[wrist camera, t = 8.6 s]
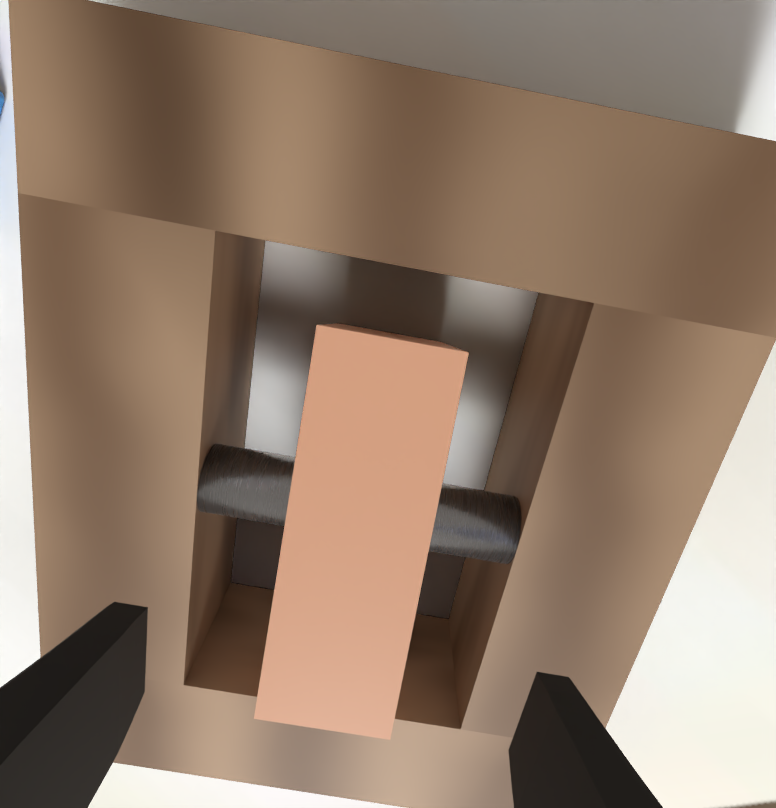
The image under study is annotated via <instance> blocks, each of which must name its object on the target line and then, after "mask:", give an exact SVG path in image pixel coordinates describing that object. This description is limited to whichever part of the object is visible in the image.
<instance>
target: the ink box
mask: <svg viewBox="0 0 776 808" xmlns="http://www.w3.org/2000/svg"><path fill="white" fill-rule="evenodd" d="M3 104H4V95H3V93H2V92H1V91H0V114H1V111H2V107H3Z"/></svg>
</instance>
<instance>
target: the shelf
mask: <svg viewBox="0 0 776 808" xmlns="http://www.w3.org/2000/svg"><path fill="white" fill-rule="evenodd" d="M9 20H10V40H11V61H12V81H13V101H14V122H15V142H16V163H17V183H18V204H19V224H20V244H21V265H22V285H23V306H24V326H25V346H26V367H27V387H28V408H29V428H30V449H31V469H32V489H33V510H34V530H35V551H36V571H37V591H38V612H39V632H40V653H41V657H42V656H44V655H45V654H46V653H48V652H49V651H50V650H52V649H53V648H54V647H55V646H57V645H58V644H59V643H61V642H62V641H63V640H65V639H66V638H67V637H68V636H70V635H71V634H72V633H74V632H75V631H76V630H77V629H79V628H80V627H81V626H83V625H84V624H85V623H86V622H88V621H89V620H90V619H91V618H93V617H94V616H95V615H97V614H98V613H99V612H100V611H102V610H103V609H104V608H106V607H107V606H108V605H110V604H111V603H113V602H119V603H125V604H131V605H137V606H143V607H148V620H147V646H146V673H145V693H144V695H143V697H142V700H141V702H140V704H139V707H138V709H137V711H136V714H135V716H134V718H133V721H132V723H131V725H130V728H129V730H128V732H127V734H126V736H125V739H124V741H123V743H122V745H121V748H120V750H119V752H118V754H117V756H116V758H115V759H114V761H113V762H114V763H120V764H127V765H133V766H140V767H146V768H153V769H159V770H166V771H172V772H179V773H185V774H192V775H198V776H205V777H211V778H218V779H224V780H231V781H237V782H244V783H250V784H257V785H263V786H270V787H276V788H283V789H289V790H296V791H302V792H309V793H315V794H322V795H328V796H335V797H341V798H348V799H354V800H361V801H367V802H374V803H380V804H387V805H393V806H400V807H406V808H514V803H513V794H512V785H511V774H510V762H509V751H508V750H509V747H510V744H511V742H512V739H513V736H514V733H515V731H516V728H517V725H518V722H519V720H520V717H521V714H522V711H523V708H524V706H525V703H526V700H527V697H528V695H529V692H530V689H531V686H532V684H533V681H534V678H535V675H536V673H537V672H542V673H548V674H554V675H560V676H566V677H569V678H570V679H571V680H572V682H573V683H574V685H575V686H576V687H577V689H578V690H579V692H580V693H581V694H582V696H583V697H584V699H585V700H586V702H587V703H588V705H589V706H590V707H591V709H592V710H593V712H594V713H595V715H596V716H597V717H598V719H599V720H600V722H601V723H602V725H603V726H604V727H605V728H606V725H607V723H608V721H609V719H610V716H611V714H612V712H613V709H614V707H615V705H616V703H617V700H618V698H619V696H620V693H621V691H622V689H623V687H624V684H625V682H626V680H627V678H628V675H629V673H630V671H631V668H632V666H633V664H634V662H635V659H636V657H637V655H638V652H639V650H640V648H641V646H642V643H643V641H644V639H645V637H646V634H647V632H648V630H649V627H650V625H651V623H652V621H653V618H654V616H655V614H656V611H657V609H658V607H659V605H660V602H661V600H662V598H663V596H664V593H665V591H666V589H667V586H668V584H669V582H670V580H671V577H672V575H673V573H674V571H675V568H676V566H677V564H678V561H679V559H680V557H681V555H682V552H683V550H684V548H685V545H686V543H687V541H688V539H689V536H690V534H691V532H692V530H693V527H694V525H695V523H696V520H697V518H698V516H699V514H700V511H701V509H702V507H703V504H704V502H705V500H706V498H707V495H708V493H709V491H710V489H711V486H712V484H713V482H714V479H715V477H716V475H717V473H718V470H719V468H720V466H721V463H722V461H723V459H724V457H725V454H726V452H727V450H728V448H729V445H730V443H731V441H732V438H733V436H734V434H735V432H736V429H737V427H738V425H739V422H740V420H741V418H742V416H743V413H744V411H745V409H746V407H747V404H748V402H749V400H750V397H751V395H752V393H753V391H754V388H755V386H756V384H757V382H758V379H759V377H760V375H761V372H762V370H763V368H764V366H765V363H766V361H767V359H768V356H769V354H770V352H771V350H772V347H773V345H774V343H775V341H776V141H772V140H767V139H762V138H757V137H752V136H747V135H742V134H738V133H733V132H728V131H723V130H718V129H713V128H708V127H703V126H698V125H694V124H689V123H684V122H679V121H674V120H669V119H664V118H659V117H655V116H650V115H645V114H640V113H635V112H630V111H625V110H620V109H616V108H611V107H606V106H601V105H596V104H591V103H586V102H581V101H576V100H572V99H567V98H562V97H557V96H552V95H547V94H542V93H537V92H533V91H528V90H523V89H518V88H513V87H508V86H503V85H498V84H494V83H489V82H484V81H479V80H474V79H469V78H464V77H459V76H454V75H450V74H445V73H440V72H435V71H430V70H425V69H420V68H415V67H411V66H406V65H401V64H396V63H391V62H386V61H381V60H376V59H372V58H367V57H362V56H357V55H352V54H347V53H342V52H337V51H332V50H328V49H323V48H318V47H313V46H308V45H303V44H298V43H293V42H289V41H284V40H279V39H274V38H269V37H264V36H259V35H254V34H250V33H245V32H240V31H235V30H230V29H225V28H220V27H215V26H210V25H206V24H201V23H196V22H191V21H186V20H181V19H176V18H171V17H167V16H162V15H157V14H152V13H147V12H142V11H137V10H132V9H127V8H123V7H118V6H113V5H108V4H103V3H98V2H93V1H88V0H9ZM265 240H267V241H272V242H277V243H283V244H288V245H293V246H298V247H304V248H309V249H314V250H319V251H324V252H330V253H335V254H340V255H345V256H351V257H356V258H361V259H366V260H372V261H377V262H382V263H387V264H392V265H398V266H403V267H408V268H413V269H419V270H424V271H429V272H434V273H440V274H445V275H450V276H455V277H461V278H466V279H471V280H476V281H481V282H487V283H492V284H497V285H502V286H508V287H513V288H518V289H523V290H529V291H534V292H539V294H538V298H537V301H536V305H535V308H534V312H533V316H532V319H531V323H530V326H529V330H528V334H527V337H526V341H525V345H524V348H523V352H522V355H521V359H520V363H519V366H518V370H517V373H516V377H515V381H514V384H513V388H512V392H511V395H510V399H509V402H508V406H507V410H506V413H505V417H504V420H503V424H502V428H501V431H500V435H499V439H498V442H497V446H496V449H495V453H494V457H493V460H492V464H491V467H490V471H489V475H488V478H487V482H486V486H485V489H484V491H483V490H477V489H472V488H466V487H460V486H455V485H449V484H443V483H442V488H441V493H440V497H439V502H438V507H437V512H436V517H435V522H434V527H433V532H432V537H431V542H430V547H429V551H433V552H439V553H444V554H450V555H456V556H462V557H466V558H465V561H464V565H463V569H462V572H461V576H460V580H459V583H458V587H457V590H456V594H455V598H454V601H453V605H452V608H451V612H450V616H449V619H444V618H438V617H432V616H426V615H420V614H416V616H415V620H414V625H413V630H412V635H411V640H410V645H409V650H408V655H407V660H406V665H405V670H404V675H403V679H402V684H401V689H400V694H399V699H398V704H397V709H396V714H395V719H394V724H393V729H392V734H391V739H390V740H387V739H381V738H375V737H368V736H362V735H355V734H349V733H342V732H336V731H329V730H323V729H316V728H310V727H303V726H297V725H290V724H284V723H278V722H271V721H265V720H258V719H254V714H255V708H256V702H257V695H258V689H259V683H260V677H261V670H262V664H263V658H264V652H265V645H266V639H267V633H268V626H269V620H270V614H271V608H272V601H273V595H274V590H271V589H265V588H259V587H253V586H247V585H241V584H235V583H231V574H232V564H233V554H234V545H235V535H236V525H237V518H241V519H247V520H252V521H258V522H264V523H270V524H276V525H281V526H285V520H286V514H287V507H288V501H289V495H290V489H291V482H292V476H293V470H294V463H295V457H291V456H285V455H279V454H274V453H268V452H262V451H257V450H251V449H245V448H244V445H245V435H246V425H247V415H248V405H249V395H250V385H251V375H252V365H253V356H254V346H255V336H256V326H257V316H258V306H259V296H260V286H261V276H262V266H263V256H264V246H265Z"/></svg>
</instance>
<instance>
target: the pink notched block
mask: <svg viewBox="0 0 776 808" xmlns="http://www.w3.org/2000/svg"><path fill="white" fill-rule="evenodd" d="M468 355H469V352H466V351H464V350H461V349H458V348H456V347H453V346H450V345H448V344H445V343H443V342H439V341H433V340H428V339H422V338H417V337H411V336H406V335H400V334H395V333H390V332H384V331H379V330H373V329H368V328H362V327H357V326H351V325H346V324H340V323H334V324H321V325H316V332H315V338H314V344H313V351H312V357H311V363H310V369H309V376H308V382H307V388H306V394H305V401H304V407H303V413H302V420H301V426H300V432H299V438H298V445H297V451H296V457H295V463H294V470H293V476H292V482H291V489H290V495H289V501H288V507H287V514H286V520H285V526H284V532H283V539H282V545H281V551H280V558H279V564H278V570H277V576H276V583H275V589H274V595H273V601H272V608H271V614H270V620H269V626H268V633H267V639H266V645H265V652H264V658H263V664H262V670H261V677H260V683H259V689H258V695H257V702H256V708H255V714H254V719H258V720H265V721H271V722H278V723H284V724H290V725H297V726H303V727H310V728H316V729H323V730H329V731H336V732H342V733H349V734H355V735H362V736H368V737H375V738H381V739H387V740H390V739H391V734H392V729H393V724H394V719H395V714H396V709H397V704H398V699H399V694H400V689H401V684H402V679H403V675H404V670H405V665H406V660H407V655H408V650H409V645H410V640H411V635H412V630H413V625H414V620H415V616H416V611H417V606H418V601H419V596H420V591H421V586H422V581H423V576H424V571H425V566H426V561H427V556H428V552H429V547H430V542H431V537H432V532H433V527H434V522H435V517H436V512H437V507H438V502H439V497H440V493H441V488H442V483H443V478H444V473H445V468H446V463H447V458H448V453H449V448H450V443H451V438H452V434H453V429H454V424H455V419H456V414H457V409H458V404H459V399H460V394H461V389H462V384H463V379H464V374H465V370H466V365H467V360H468Z"/></svg>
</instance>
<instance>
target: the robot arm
mask: <svg viewBox="0 0 776 808" xmlns="http://www.w3.org/2000/svg"><path fill="white" fill-rule="evenodd" d="M147 620H148V607H143V606H137V605H131V604H125V603H119V602H113V603H111V604H110V605H108V606H107V607H106V608H104V609H103V610H102V611H100V612H99V613H98V614H97V615H95V616H94V617H93V618H91V619H90V620H89V621H88V622H86V623H85V624H84V625H83V626H81V627H80V628H79V629H77V630H76V631H75V632H74V633H72V634H71V635H70V636H68V637H67V638H66V639H65V640H63V641H62V642H61V643H59V644H58V645H57V646H55V647H54V648H53V649H52V650H50V651H49V652H48V653H46V654H45V655H44V656H42V657H41V658H40V659H38V660H37V661H36V662H34V663H33V664H32V665H30V666H29V667H28V668H26V669H25V670H24V671H22V672H21V673H20V674H18V675H17V676H15V677H14V678H13V679H11V680H10V681H9V682H7V683H6V684H5V685H3V686H2V687H1V688H0V808H88V806H89V804H90V802H91V801H92V799H93V797H94V795H95V793H96V792H97V790H98V788H99V786H100V784H101V783H102V781H103V779H104V777H105V776H106V774H107V772H108V770H109V768H110V767H111V765H112V763H113V761H114V759H115V758H116V756H117V754H118V752H119V750H120V748H121V745H122V743H123V741H124V739H125V736H126V734H127V732H128V730H129V728H130V725H131V723H132V721H133V718H134V716H135V714H136V711H137V709H138V707H139V704H140V702H141V700H142V697H143V695H144V693H145V673H146V646H147ZM508 751H509V762H510V774H511V785H512V794H513V803H514V808H663V807H662V806H661V804H660V803H659V802H658V800H657V799H656V798H655V796H654V795H653V794H652V793H651V791H650V790H649V788H648V787H647V786H646V784H645V783H644V782H643V780H642V779H641V778H640V776H639V775H638V774H637V772H636V771H635V769H634V768H633V767H632V765H631V764H630V763H629V761H628V760H627V758H626V757H625V756H624V754H623V753H622V751H621V750H620V749H619V747H618V746H617V744H616V743H615V742H614V740H613V739H612V737H611V736H610V734H609V733H608V732H607V730H606V729H605V727H604V726H603V725H602V723H601V722H600V720H599V719H598V717H597V716H596V715H595V713H594V712H593V710H592V709H591V707H590V706H589V705H588V703H587V702H586V700H585V699H584V697H583V696H582V694H581V693H580V692H579V690H578V689H577V687H576V686H575V685H574V683H573V682H572V680H571V679H570V678H569V677H566V676H560V675H554V674H548V673H542V672H537V673H536V675H535V678H534V681H533V684H532V686H531V689H530V692H529V695H528V697H527V700H526V703H525V706H524V708H523V711H522V714H521V717H520V720H519V722H518V725H517V728H516V731H515V733H514V736H513V739H512V742H511V744H510V747H509V750H508Z"/></svg>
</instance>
